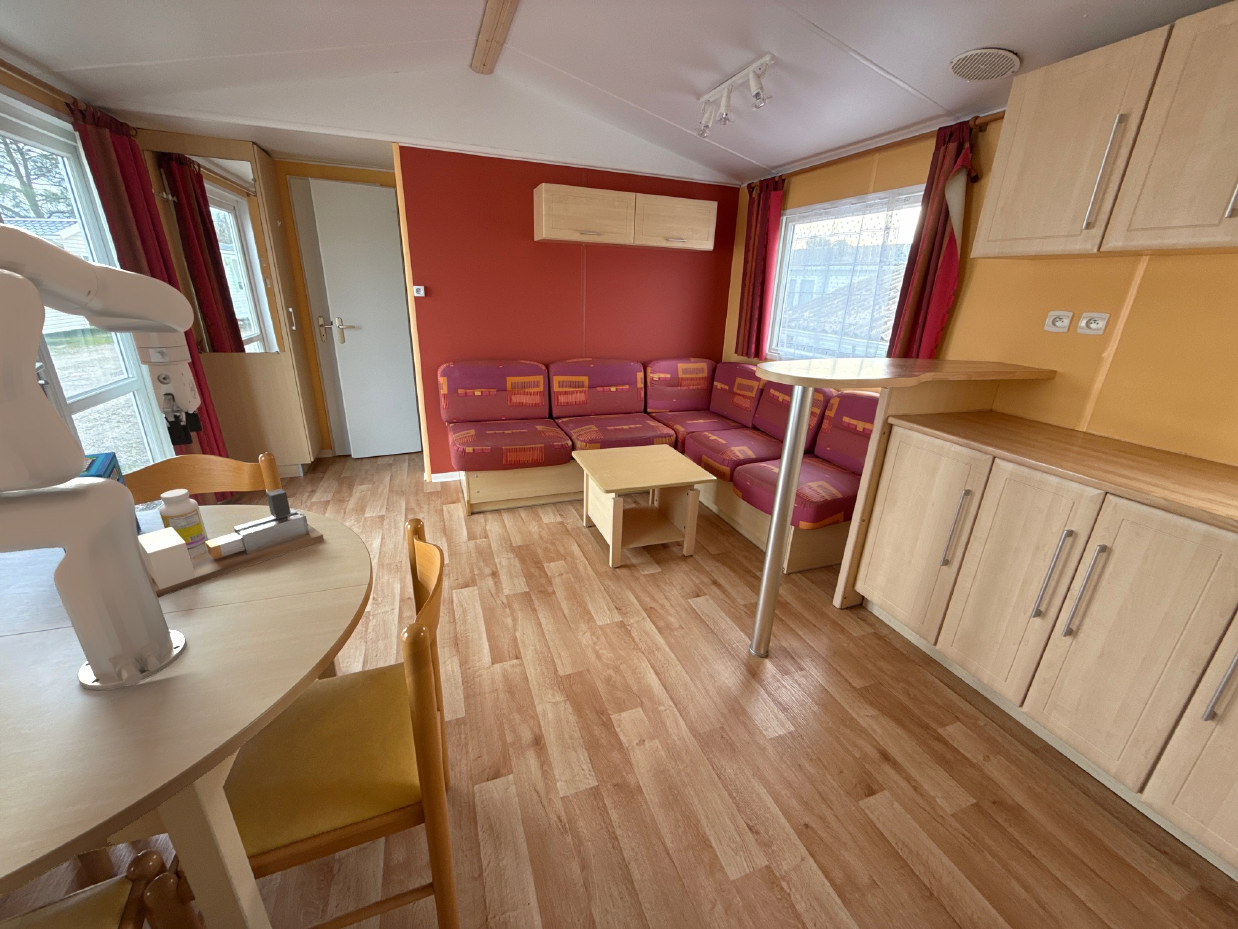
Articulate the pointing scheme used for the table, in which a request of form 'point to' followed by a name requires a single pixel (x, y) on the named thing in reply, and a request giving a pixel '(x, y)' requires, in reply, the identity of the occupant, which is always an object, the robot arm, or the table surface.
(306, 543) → the base board
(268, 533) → the outer sleeve
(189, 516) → the supplement bottle
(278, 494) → the sliding bolt latch
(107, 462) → the box
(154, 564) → the block
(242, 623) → the table surface
